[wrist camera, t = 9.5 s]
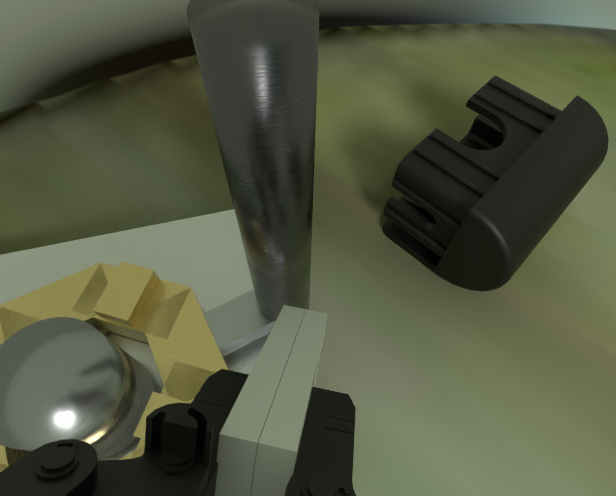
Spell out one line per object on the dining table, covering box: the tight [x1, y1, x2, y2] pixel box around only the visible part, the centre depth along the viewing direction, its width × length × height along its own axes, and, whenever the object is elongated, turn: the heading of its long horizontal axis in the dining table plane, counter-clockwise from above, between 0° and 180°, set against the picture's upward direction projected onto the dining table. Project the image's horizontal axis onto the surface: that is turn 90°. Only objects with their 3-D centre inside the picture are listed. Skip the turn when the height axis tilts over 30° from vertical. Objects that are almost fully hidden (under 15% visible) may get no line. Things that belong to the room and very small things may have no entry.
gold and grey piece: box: [0, 0, 319, 472], centre depth 13 cm, size 16×11×15 cm
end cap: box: [383, 76, 608, 291], centre depth 23 cm, size 10×7×7 cm
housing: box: [0, 209, 270, 460], centre depth 17 cm, size 18×18×6 cm
